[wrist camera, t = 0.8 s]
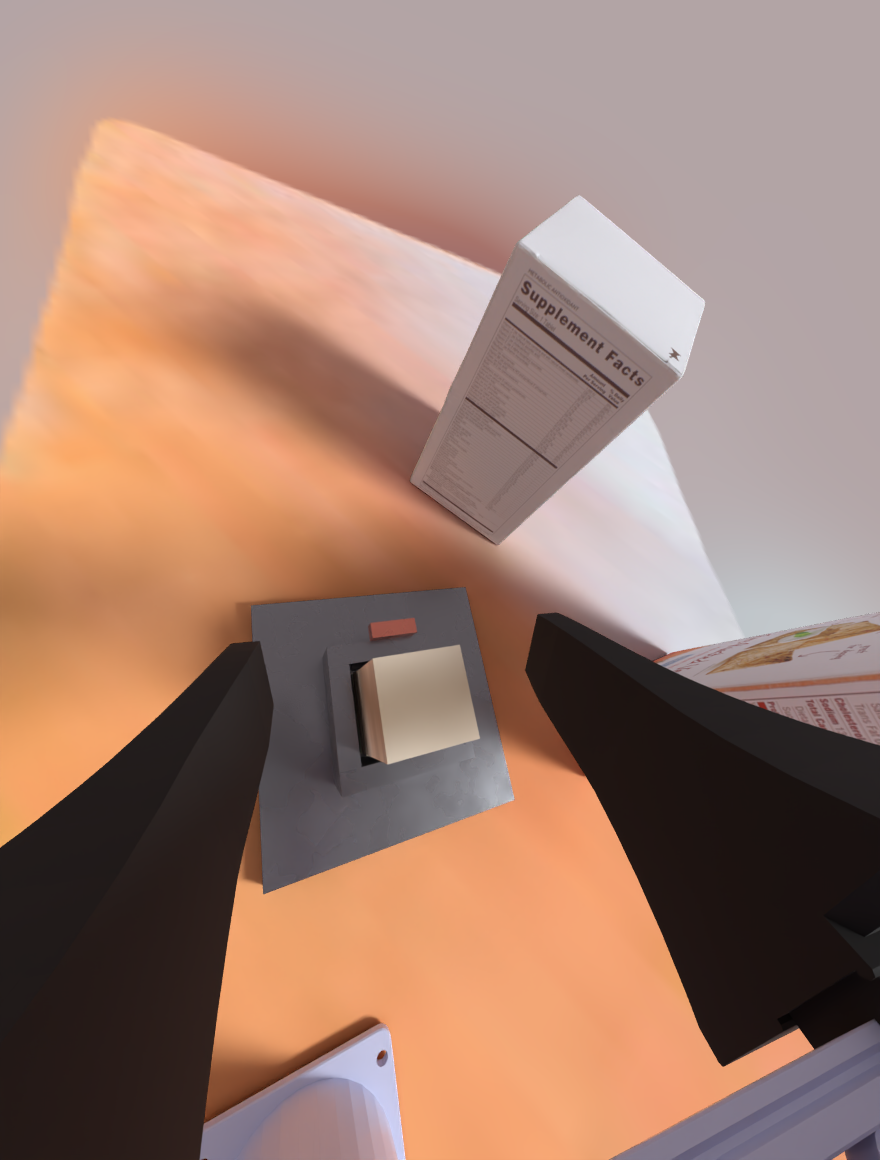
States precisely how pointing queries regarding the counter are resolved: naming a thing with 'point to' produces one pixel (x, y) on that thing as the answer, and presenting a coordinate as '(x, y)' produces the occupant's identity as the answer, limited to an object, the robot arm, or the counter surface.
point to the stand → (330, 740)
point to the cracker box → (799, 673)
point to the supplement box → (556, 369)
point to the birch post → (413, 704)
